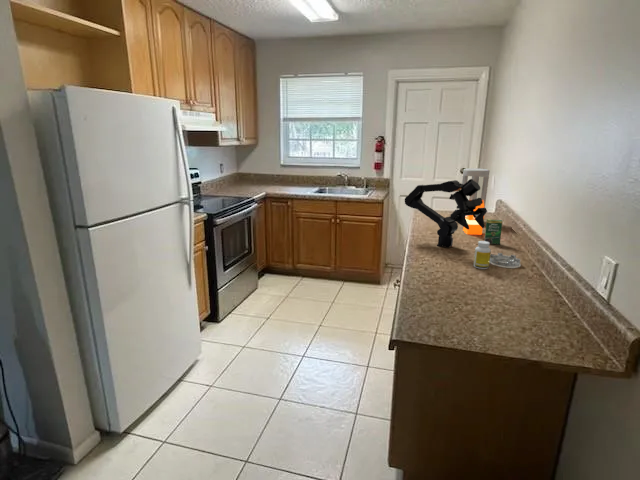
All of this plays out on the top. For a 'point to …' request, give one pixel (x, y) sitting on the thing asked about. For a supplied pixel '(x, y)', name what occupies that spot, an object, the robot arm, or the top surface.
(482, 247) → the pill bottle
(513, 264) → the steel ashtray
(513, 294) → the top surface
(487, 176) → the stool
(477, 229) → the orange juice
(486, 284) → the top surface
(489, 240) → the coffee box
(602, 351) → the top surface
